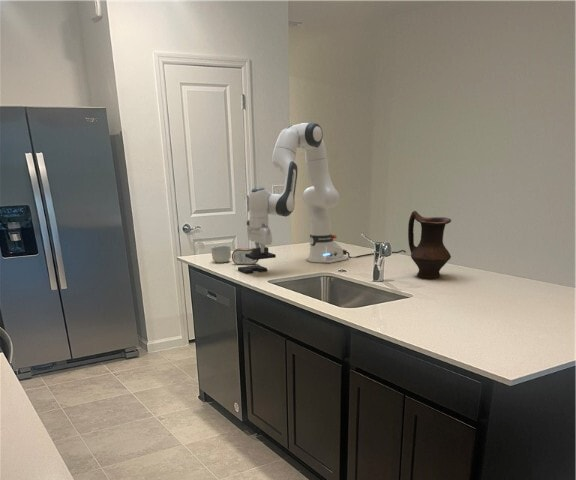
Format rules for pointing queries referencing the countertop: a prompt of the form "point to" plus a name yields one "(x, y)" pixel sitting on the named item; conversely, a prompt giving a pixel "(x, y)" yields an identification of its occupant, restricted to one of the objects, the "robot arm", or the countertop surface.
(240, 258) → the tin
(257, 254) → the loose pad
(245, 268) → the base pad
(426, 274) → the jug
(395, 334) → the countertop surface
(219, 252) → the teacup
